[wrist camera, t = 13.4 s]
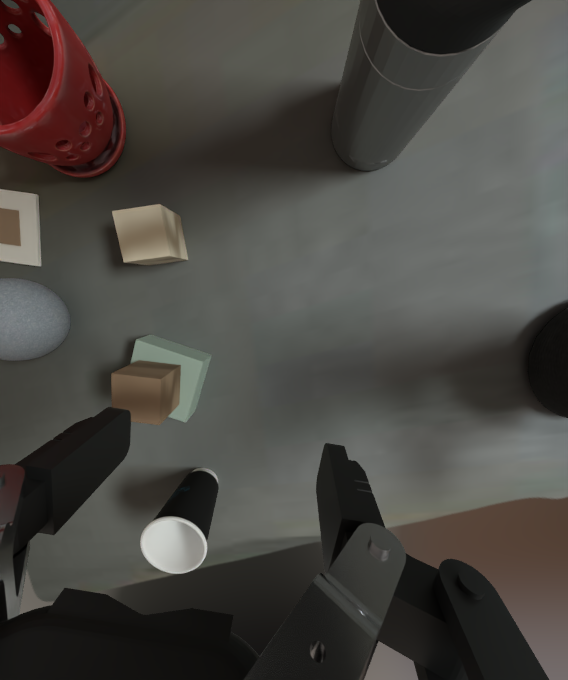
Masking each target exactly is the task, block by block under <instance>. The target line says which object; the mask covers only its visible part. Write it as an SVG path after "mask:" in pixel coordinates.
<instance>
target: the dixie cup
mask: <svg viewBox="0 0 568 680" xmlns="http://www.w3.org/2000/svg"><path fill="white" fill-rule="evenodd" d="M217 493H218V478H217V476H216V474H215V473H214V472H213V471H211V470H210V469H207V468H197V469H195V470H193V471H192V472H191V473H190V474H188V475H187V476H186V478H185V479H184V480H183V482H182V483H181V484H180V486H179V487H178V488H177V490H176V491H175V492H174V494H173V495H172V496H171V498H170V499H169V500H168V502H167V503H166V504H165V506H164V507H163V508H162V510H161V511H160V512H159V514H158V515H157V516H156V518H155V519H154V520H153V521H152V522H151V523H149V524H148V525H147V526H146V528H145V529H144V530H143V532H142V535H141V540H140V545H141V550H142V552H143V554H144V556H145V558H146V559H147V560H148V561H149V562H150V563H151V564H152V565H153V566H154V567H156V568H158V569H159V570H162V571H164V572H168V573H174V574H180V573H186V572H189V571H192V570H194V569H195V568H197V567H198V566H199V565H200V564H201V563H202V562H203V560H204V559H205V556H206V553H207V539H208V535H209V530H210V525H211V521H212V516H213V512H214V507H215V503H216V498H217Z"/></svg>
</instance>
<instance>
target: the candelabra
mask: <svg viewBox="0 0 568 680" xmlns="http://www.w3.org/2000/svg"><path fill="white" fill-rule="evenodd" d="M528 374H529V379H530V384H531V387H532V389H533V392H534V394H535V395H536V397H537V398H538V400H539V401H540V402H541V403H542V404H543V405H544V406H545V407H546V408H548V409H549V410H550V411H552V412H554V413H556V414H558V415H560V416H563V417H566V418H568V308H567V309H565V310H564V311H562V312H561V313H559V314H558V315H557V316H556V317H554V318H553V319H552V320H551V321H549V322H548V324H547V325H546V326H545V328H544V329H543V330H542V332H541V333H540V334H539V335H538V336H537V337H536V340H535V343H534V346H533V348H532V350H531V352H530V354H529V368H528Z"/></svg>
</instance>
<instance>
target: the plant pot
mask: <svg viewBox="0 0 568 680" xmlns="http://www.w3.org/2000/svg"><path fill="white" fill-rule="evenodd" d="M12 1H14V2H15V3H16V4H18V6H19V8H17V9H14V8H10V7H8V6H6V5H5V4H4V3H3V2H2V1H1V0H0V33H1V34H2V36H3V37H4V43H3V44H1V45H0V147H3V148H5V149H7V150H9V151H12V152H14V153H16V154H19V155H22V156H24V157H27V158H31V159H33V160H36V161H40V162H43V163H47V164H49V165H50V166H52V167H53V168H54V169H56V170H58V171H60V172H62V173H64V174H67V175H70V176H74V177H82V178H86V177H93V176H97V175H100V174H102V173H104V172H106V171H107V170H109V169H110V168H111V167H112V166H113V165H114V164H115V163H116V162H117V160H118V159H119V157H120V155H121V153H122V151H123V148H124V144H125V139H126V123H125V117H124V113H123V109H122V107H121V104H120V102H119V100H118V98H117V96H116V94H115V93H114V91H113V90H112V88H111V87H110V86H109V84H108V83H107V82H106V81H105V80H104V79H103V78H102V76H101V74H100V72H99V70H98V68H97V66H96V65H95V63H94V61H93V59H92V58H91V56H90V54H89V53H88V51H87V49H86V48H85V46H84V45H83V43H82V42H81V40H80V39H79V37H78V36H77V35H76V33H75V32H74V31H73V29H72V28H71V26H70V25H69V24H68V22H67V21H66V20H65V18H64V17H63V16H62V15H61V13H60V12H59V11H58V9H57V8H56V7H55V6H54V4H53V3H52V2H51V1H50V0H12ZM34 12H37V13H39V14H41V15H43V16H44V17H45V18H46V21H47V23H48V26H49V28H48V27H47V26H45V25H44V24H43V23H42V22H41V21H40V20H39V19H38V17H37V16H36V14H35V13H34ZM9 24H14V25H16V26H17V27H19V28H20V30H21V33H19V34H18V33H14V32H12V31H11V30H10V29H9V28H8V25H9Z"/></svg>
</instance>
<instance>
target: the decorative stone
mask: <svg viewBox="0 0 568 680" xmlns="http://www.w3.org/2000/svg"><path fill="white" fill-rule="evenodd" d="M70 325H71V319H70V314H69V311H68V308H67V306H66V305H65V303H64V302H63V300H62V299H61V298H60V297H59V296H58V295H57V294H56V293H54V292H53V291H52V290H50V289H49V288H47V287H45V286H43V285H41V284H39V283H36V282H33V281H29V280H24V279H17V278H2V279H0V359H1V360H10V361H22V360H30V359H35V358H38V357H41V356H44V355H46V354H48V353H50V352H52V351H53V350H55V349H56V348H57V347H58V346H59V345H60V344H61V343H62V342H63V341H64V340H65V338H66V337H67V335H68V333H69V330H70Z"/></svg>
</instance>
